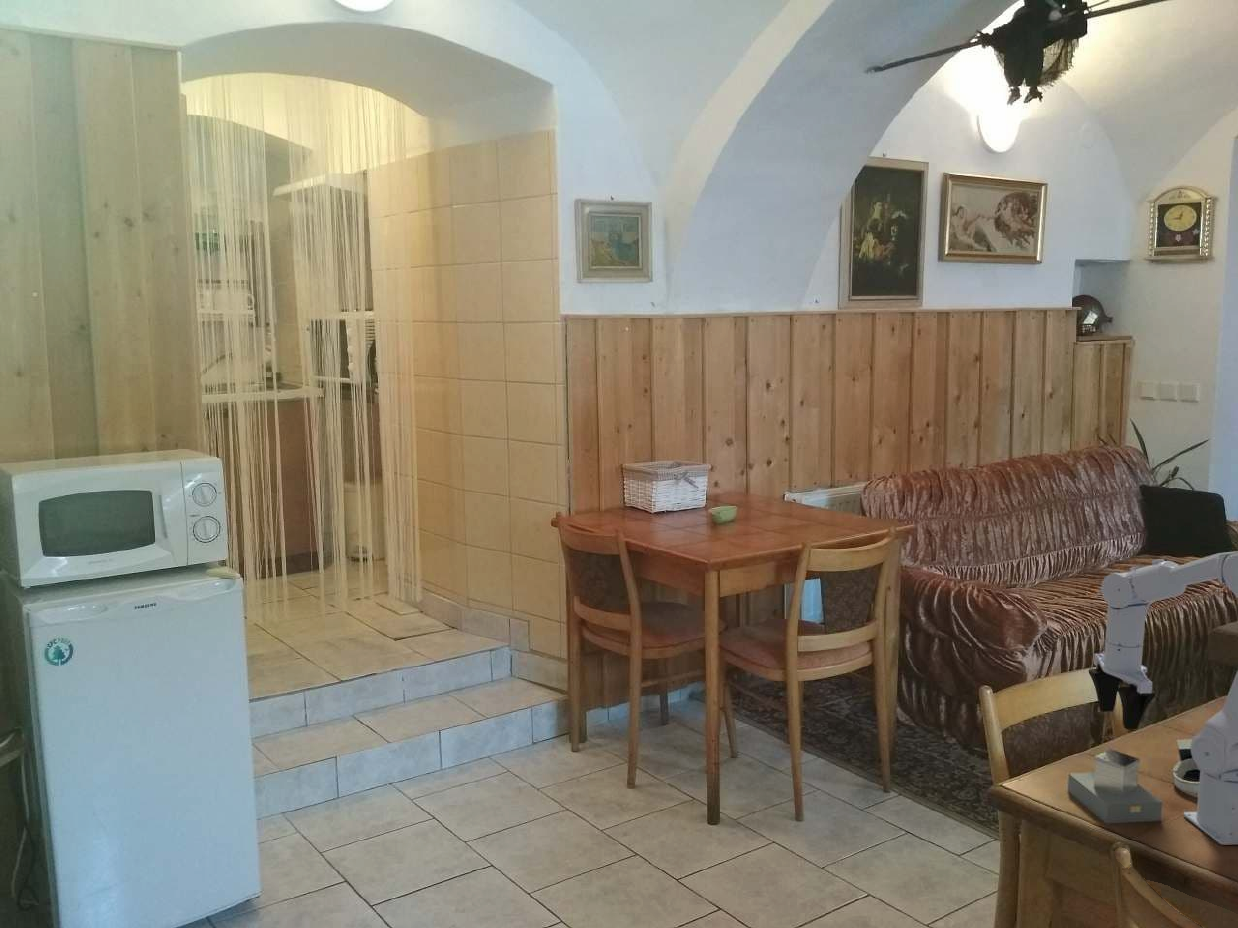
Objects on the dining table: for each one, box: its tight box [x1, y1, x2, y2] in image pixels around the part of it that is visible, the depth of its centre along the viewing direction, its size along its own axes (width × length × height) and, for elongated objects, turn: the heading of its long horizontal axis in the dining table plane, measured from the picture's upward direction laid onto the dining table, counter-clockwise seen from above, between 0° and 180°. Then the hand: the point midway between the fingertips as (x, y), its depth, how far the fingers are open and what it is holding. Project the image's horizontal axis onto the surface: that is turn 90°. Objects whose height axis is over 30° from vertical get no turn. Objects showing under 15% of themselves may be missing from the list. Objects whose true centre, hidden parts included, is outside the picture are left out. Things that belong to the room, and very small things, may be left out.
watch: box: [1171, 738, 1200, 796], centre depth 173 cm, size 6×8×11 cm
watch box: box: [1067, 771, 1163, 824], centre depth 165 cm, size 11×9×4 cm
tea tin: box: [1094, 748, 1141, 797], centre depth 165 cm, size 5×5×5 cm
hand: (1118, 719), depth 176 cm, fingers open, 7 cm apart
